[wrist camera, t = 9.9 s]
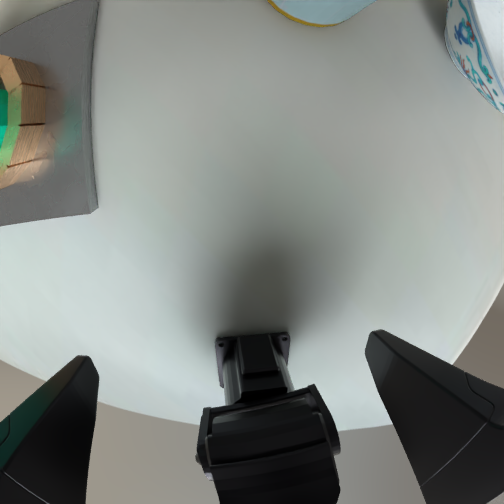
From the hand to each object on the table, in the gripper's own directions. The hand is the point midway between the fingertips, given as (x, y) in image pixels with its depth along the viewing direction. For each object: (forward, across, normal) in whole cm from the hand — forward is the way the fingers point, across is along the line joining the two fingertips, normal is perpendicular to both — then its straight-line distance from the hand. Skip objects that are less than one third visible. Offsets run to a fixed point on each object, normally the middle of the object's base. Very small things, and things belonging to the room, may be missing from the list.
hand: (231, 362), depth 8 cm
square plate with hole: (+13, +16, -10) cm, 23 cm away
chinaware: (+13, -24, -18) cm, 32 cm away
